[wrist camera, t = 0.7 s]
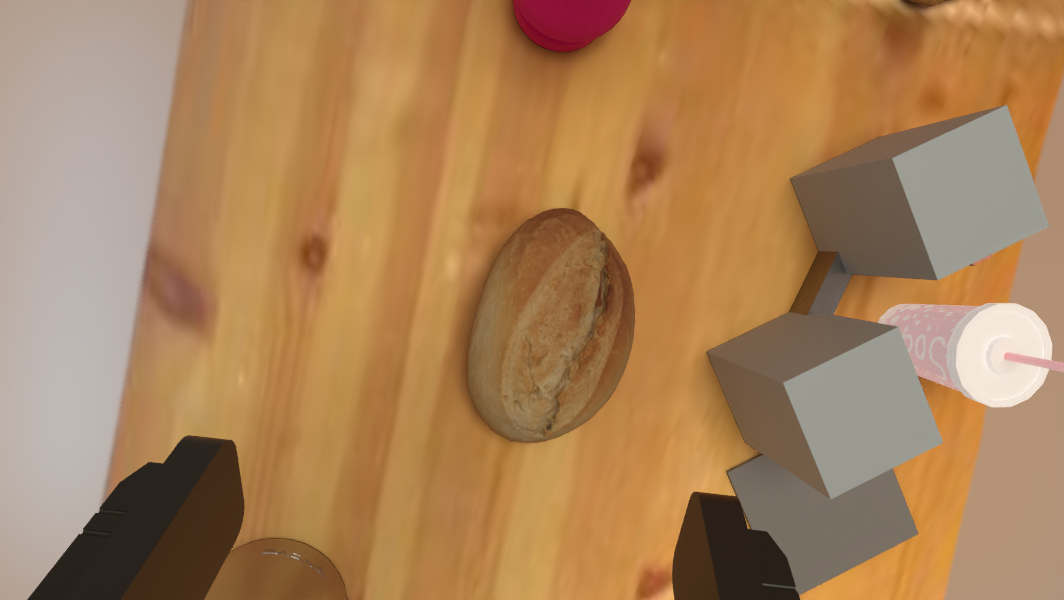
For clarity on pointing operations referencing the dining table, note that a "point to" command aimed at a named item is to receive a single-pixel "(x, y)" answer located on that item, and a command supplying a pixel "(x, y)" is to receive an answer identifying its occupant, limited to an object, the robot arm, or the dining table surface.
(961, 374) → the beverage cup
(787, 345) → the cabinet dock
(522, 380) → the bread roll
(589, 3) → the pepper mill
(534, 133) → the dining table surface
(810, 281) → the track rail
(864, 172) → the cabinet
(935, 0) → the pastry
